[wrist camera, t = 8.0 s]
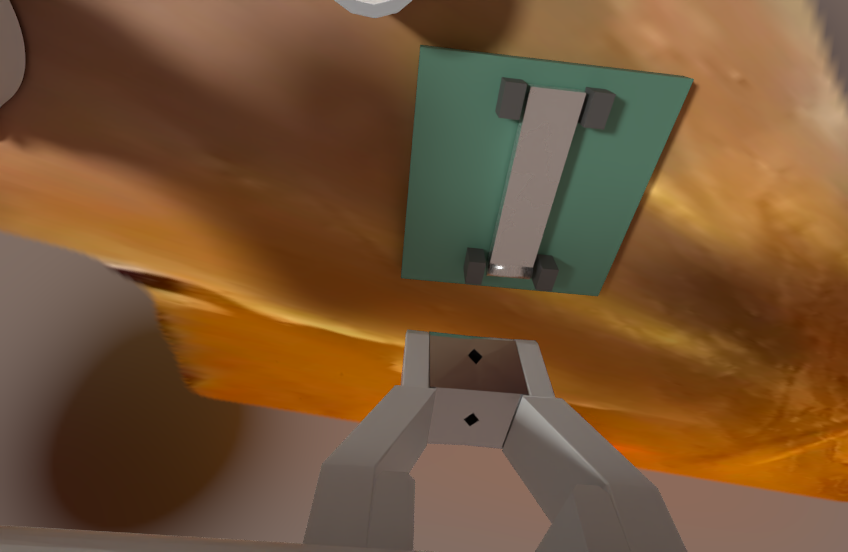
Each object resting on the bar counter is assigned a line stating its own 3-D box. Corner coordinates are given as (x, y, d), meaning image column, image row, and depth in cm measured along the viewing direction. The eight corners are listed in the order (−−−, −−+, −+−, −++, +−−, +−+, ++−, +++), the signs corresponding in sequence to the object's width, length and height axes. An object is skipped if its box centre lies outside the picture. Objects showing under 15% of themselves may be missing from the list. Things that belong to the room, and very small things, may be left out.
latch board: (401, 269, 41) (399, 293, 37) (420, 44, 29) (419, 50, 26) (593, 287, 42) (606, 312, 38) (683, 75, 30) (714, 85, 27)
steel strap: (484, 268, 38) (487, 279, 37) (526, 83, 29) (531, 87, 28) (525, 272, 39) (529, 283, 37) (579, 89, 29) (587, 93, 28)
